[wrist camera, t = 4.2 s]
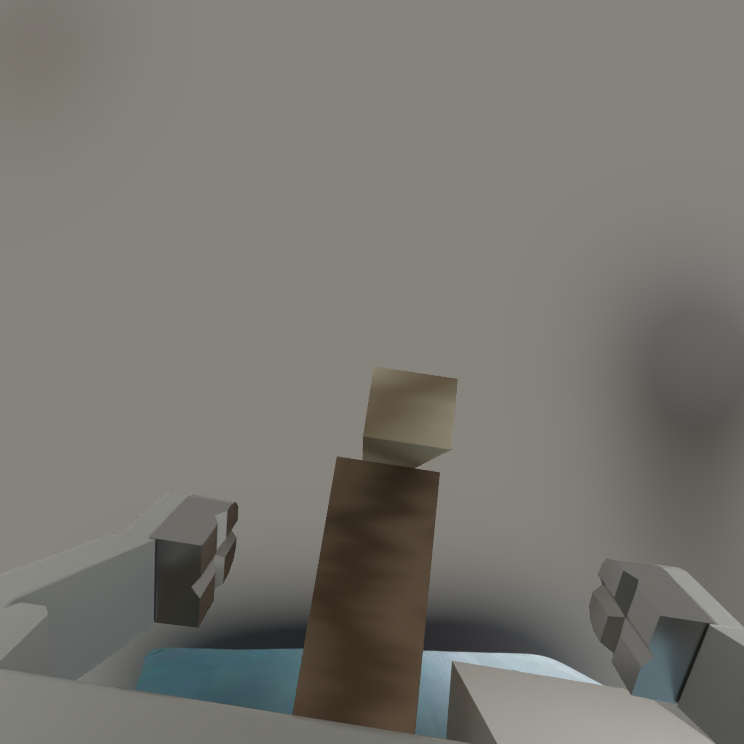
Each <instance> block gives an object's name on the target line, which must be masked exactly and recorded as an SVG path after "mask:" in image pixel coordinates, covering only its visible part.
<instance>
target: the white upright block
mask: <svg viewBox="0 0 744 744" xmlns="http://www.w3.org/2000/svg"><path fill="white" fill-rule="evenodd" d="M446 739H448V740H454V741H460V742H467V743H473V744H714V743H713V742H712V741H710V740H709V739H707V738H706V737H705V736H703V735H702V734H700V733H699V732H697V731H696V730H695V729H693V728H692V727H690V726H689V725H687V724H686V723H685V722H683V721H682V720H680V719H679V718H678V717H676V716H675V715H673V714H672V713H671V712H669V711H668V710H666V709H665V708H663V707H662V706H661V705H659V704H658V703H656V702H655V701H653V700H652V699H648V698H642V697H637V696H632V695H631V694H630V693H629V691H628V690H627V689H621V688H614V687H609V686H603V685H597V684H590V683H584V682H578V681H572V680H566V679H560V678H554V677H548V676H542V675H536V674H530V673H523V672H517V671H511V670H505V669H499V668H493V667H487V666H481V665H475V664H469V663H462V662H456V661H452V669H451V682H450V695H449V708H448V721H447V734H446Z"/></svg>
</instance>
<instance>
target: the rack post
mask: <svg viewBox="0 0 744 744" xmlns="http://www.w3.org/2000/svg"><path fill="white" fill-rule="evenodd" d="M439 476H440V473H439V472H434V471H427V470H421V469H414V468H408V467H401V466H395V465H389V464H382V463H376V462H369V461H363V460H356V459H349V458H342V457H337V459H336V465H335V471H334V477H333V482H332V488H331V494H330V499H329V505H328V511H327V517H326V523H325V528H324V534H323V540H322V546H321V552H320V558H319V564H318V569H317V575H316V581H315V587H314V592H313V598H312V604H311V610H310V616H309V621H308V627H307V633H306V639H305V644H304V650H303V656H302V662H301V668H300V673H299V679H298V685H297V691H296V697H295V702H294V708H293V714H292V715H296V716H302V717H309V718H315V719H321V720H327V721H334V722H340V723H346V724H353V725H359V726H365V727H372V728H378V729H384V730H391V731H397V732H403V733H410V734H415V727H416V717H417V706H418V696H419V685H420V675H421V664H422V654H423V643H424V633H425V622H426V611H427V602H428V601H427V600H428V590H429V580H430V570H431V560H432V548H433V539H434V528H435V518H436V507H437V497H438V486H439Z"/></svg>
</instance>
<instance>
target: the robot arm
mask: <svg viewBox="0 0 744 744" xmlns="http://www.w3.org/2000/svg"><path fill="white" fill-rule="evenodd" d="M237 520H238V505H237V503H236V502H232V501H226V500H220V499H214V498H209V497H202V496H197V495H191V494H186V493H178V492H166V493H165V494H164V495H162V496H161V497H160V498H159V499H158V500H157V501H156V502H155V503H154V504H153V505H152V506H150V507H149V508H148V509H147V510H146V511H145V512H144V513H143V514H142V515H141V516H140V517H139V518H137V519H136V521H134V522H133V523H132V524H131V525H130V526H129V527H128V528H127V529H126V530H125V531H123V532H122V533H121V534H117V533H112V534H109V535H106V536H104V537H101V538H98V539H95V540H93V541H90V542H87V543H84V544H82V545H79V546H76V547H73V548H71V549H68V550H65V551H63V552H60V553H57V554H54V555H51V556H49V557H46V558H43V559H40V560H38V561H35V562H32V563H29V564H26V565H24V566H21V567H18V568H16V569H13V570H10V571H7V572H5V573H2V574H0V744H473V743H467V742H460V741H454V740H448V739H441V738H435V737H429V736H422V735H416V734H410V733H403V732H397V731H391V730H384V729H378V728H372V727H365V726H359V725H353V724H346V723H340V722H334V721H327V720H321V719H315V718H309V717H302V716H296V715H290V714H283V713H277V712H271V711H264V710H258V709H252V708H246V707H239V706H233V705H227V704H220V703H214V702H208V701H201V700H195V699H189V698H183V697H176V696H170V695H164V694H157V693H151V692H145V691H139V690H132V689H125V688H120V687H113V686H107V685H101V684H94V683H88V682H82V681H76V680H77V679H78V678H80V677H81V676H83V675H84V674H85V673H87V672H88V671H90V670H91V669H92V668H94V667H95V666H97V665H98V664H100V663H101V662H102V661H104V660H105V659H107V658H108V657H109V656H111V655H112V654H114V653H115V652H117V651H118V650H119V649H121V648H122V647H123V646H125V645H126V644H128V643H129V642H130V641H132V640H133V639H135V638H136V637H138V636H139V635H140V634H142V633H143V632H145V631H146V630H147V629H149V628H150V627H152V626H153V625H154V622H156V623H164V624H172V625H180V626H188V627H197V628H198V627H199V626H200V624H201V622H202V620H203V618H204V617H205V615H206V613H207V611H208V609H209V608H210V606H211V604H212V603H213V601H214V589H215V588H217V587H218V586H220V585H222V584H223V583H224V581H225V579H226V577H227V575H228V573H229V571H230V567H231V565H232V562H233V558H234V553H235V548H236V536H235V535H234V533H233V532H232V528H233V526H234V525H235V523H236V522H237ZM598 575H599V577H600V580H601V582H602V585H601V586H600V587H599V588H597V589H596V590H595V591H594V592H593V593H592V597H591V601H590V605H589V608H590V620H591V623H592V627H593V630H594V632H595V634H596V636H597V637H598V639H599V641H600V642H601V643H602V644H603V645H604V646H606V647H607V648H608V649H609V650H610V651H612V652H613V658H612V663H613V665H614V667H615V668H616V670H617V672H618V674H619V675H620V677H621V678H622V680H623V682H624V684H625V686H626V687H627V689H628V691H629V693H630V694H631V695H632V696H637V697H642V698H648V699H653V700H659V701H664V702H670V703H675V704H678V705H677V707H678V708H679V709H680V710H681V711H682V712H684V714H686V715H687V716H688V717H689V718H690V719H691V720H692V721H693V722H694V723H695V724H696V725H697V726H698V727H699V728H700V729H701V730H702V731H703V732H704V733H705V734H707V735H708V736H709V737H710V738H711V739H712V740H713V741H714V742H715V743H716V744H744V627H743V626H742V625H741V624H740V623H739V622H738V621H737V620H735V619H734V618H733V617H732V616H731V615H730V614H729V613H728V612H727V611H726V610H725V609H724V608H723V607H722V606H721V605H720V604H719V603H718V602H717V601H716V600H715V599H714V598H713V597H712V596H711V595H710V594H709V593H708V592H707V591H706V590H705V589H704V588H703V587H702V586H701V585H700V584H698V582H696V580H695V579H694V578H692V577H691V576H690V575H689V574H688V573H687V572H686V571H684V570H682V569H680V568H678V567H671V566H661V565H650V564H643V563H635V562H627V561H619V560H612V559H606V560H605V561H604V562H603V564H602V565H601V568H600V571H599V574H598Z"/></svg>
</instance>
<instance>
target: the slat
mask: <svg viewBox="0 0 744 744" xmlns="http://www.w3.org/2000/svg"><path fill="white" fill-rule="evenodd" d="M456 392H457V379H454V378H447V377H441V376H434V375H427V374H421V373H414V372H407V371H400V370H394V369H387V368H381V367H374V371H373V376H372V383H371V390H370V395H369V402H368V409H367V415H366V421H365V428H364V434H363V461H369V462H376V463H382V464H389V465H395V466H401V467H408V468H416V467H418V466H420V465H422V464H424V463H426V462H428V461H430V460H432V459H434V458H436V457H438V456H440V455H442V454H444V453H446V452H448V451H450V450H451V448H452V437H453V426H454V415H455V403H456Z"/></svg>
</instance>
